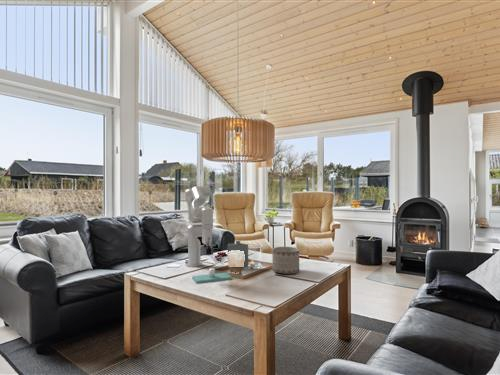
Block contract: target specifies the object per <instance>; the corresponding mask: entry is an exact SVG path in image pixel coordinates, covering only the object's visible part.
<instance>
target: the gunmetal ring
mask: <svg viewBox="0 0 500 375" xmlns="http://www.w3.org/2000/svg"><path fill="white" fill-rule="evenodd" d="M206 248H207V246H204V245H203V246H201V256H212V255H214V246H213V245H211V254H208V255H207V254H206Z"/></svg>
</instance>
